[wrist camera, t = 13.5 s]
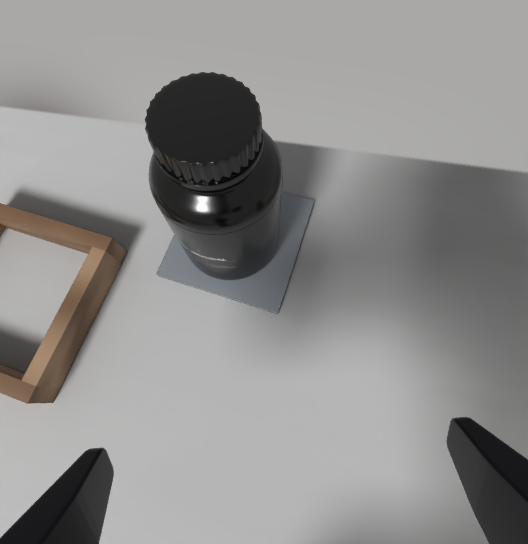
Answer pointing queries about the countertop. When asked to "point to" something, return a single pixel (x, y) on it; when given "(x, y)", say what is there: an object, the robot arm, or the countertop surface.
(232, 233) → the supplement bottle
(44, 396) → the walnut holder
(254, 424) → the countertop surface
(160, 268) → the slate mat
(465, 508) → the countertop surface
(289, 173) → the countertop surface
